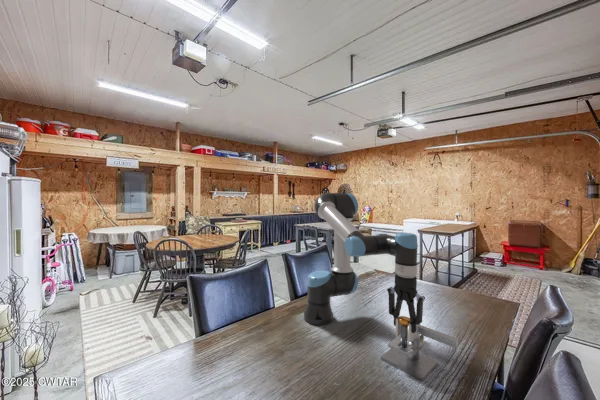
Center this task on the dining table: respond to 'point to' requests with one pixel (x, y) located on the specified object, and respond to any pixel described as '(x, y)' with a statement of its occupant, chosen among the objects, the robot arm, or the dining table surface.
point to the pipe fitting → (420, 336)
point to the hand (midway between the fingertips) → (404, 337)
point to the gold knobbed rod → (404, 330)
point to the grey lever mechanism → (416, 353)
